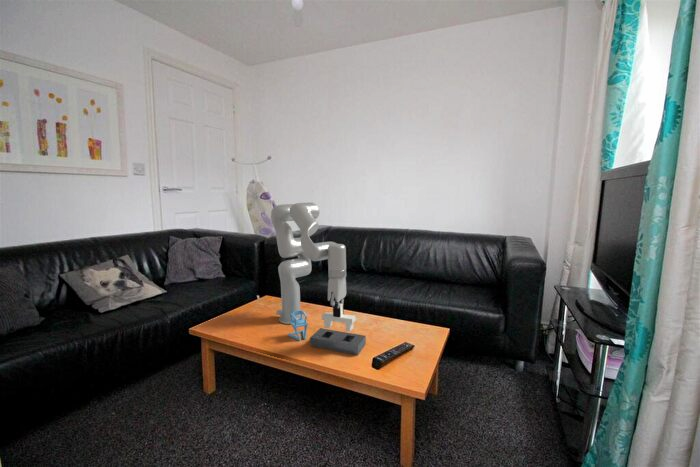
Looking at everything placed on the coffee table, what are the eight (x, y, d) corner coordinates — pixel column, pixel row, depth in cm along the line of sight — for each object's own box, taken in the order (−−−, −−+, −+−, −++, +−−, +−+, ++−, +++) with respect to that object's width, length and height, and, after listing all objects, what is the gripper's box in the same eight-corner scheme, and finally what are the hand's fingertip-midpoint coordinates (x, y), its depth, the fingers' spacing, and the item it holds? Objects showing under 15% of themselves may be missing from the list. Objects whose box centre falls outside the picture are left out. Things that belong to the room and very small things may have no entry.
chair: (294, 342, 142) (294, 317, 140) (287, 335, 149) (287, 311, 147) (310, 338, 146) (310, 313, 144) (303, 331, 153) (302, 307, 151)
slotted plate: (310, 346, 139) (310, 337, 138) (320, 336, 148) (320, 328, 147) (357, 355, 131) (357, 346, 130) (365, 344, 140) (365, 335, 139)
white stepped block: (322, 327, 138) (321, 303, 137) (326, 323, 142) (325, 301, 141) (352, 331, 133) (351, 307, 132) (355, 328, 137) (355, 304, 136)
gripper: (336, 268, 144) (337, 307, 146) (320, 277, 129) (322, 321, 131) (352, 269, 141) (353, 309, 143) (337, 278, 126) (338, 323, 128)
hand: (338, 314), depth 137 cm, fingers closed on white stepped block, 2 cm apart
